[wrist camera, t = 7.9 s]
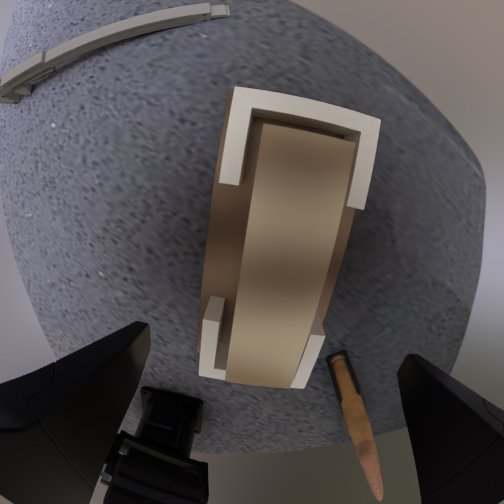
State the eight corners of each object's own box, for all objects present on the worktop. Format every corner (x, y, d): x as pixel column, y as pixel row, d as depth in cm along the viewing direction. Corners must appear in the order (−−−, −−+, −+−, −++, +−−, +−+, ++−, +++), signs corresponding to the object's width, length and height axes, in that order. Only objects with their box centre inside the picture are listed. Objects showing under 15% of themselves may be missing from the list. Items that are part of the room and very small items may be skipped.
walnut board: (305, 359, 22) (306, 367, 21) (198, 344, 21) (196, 352, 21) (366, 122, 15) (372, 120, 14) (230, 93, 15) (229, 90, 14)
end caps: (299, 362, 21) (304, 388, 18) (205, 349, 20) (198, 375, 18) (361, 125, 15) (380, 119, 12) (239, 98, 14) (234, 86, 12)
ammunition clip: (325, 356, 22) (356, 479, 10) (345, 348, 21) (386, 468, 10) (348, 416, 25) (371, 506, 13) (364, 410, 24) (390, 498, 13)
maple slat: (284, 340, 20) (289, 388, 15) (231, 333, 20) (224, 381, 15) (328, 146, 15) (355, 142, 10) (262, 133, 15) (263, 123, 10)
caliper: (18, 105, 15) (-29, 104, 9) (19, 95, 14) (-28, 92, 9) (231, 18, 13) (219, -31, 7) (229, 7, 13) (217, -42, 7)
